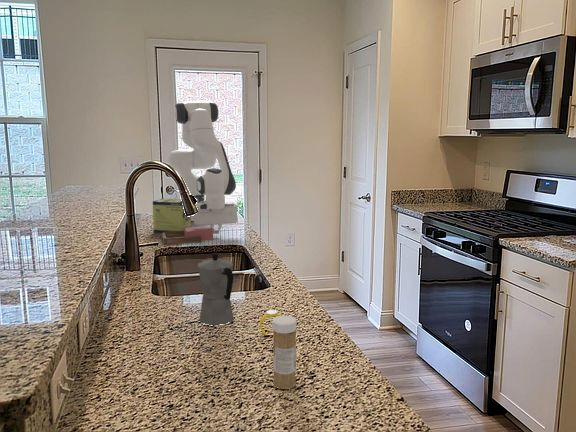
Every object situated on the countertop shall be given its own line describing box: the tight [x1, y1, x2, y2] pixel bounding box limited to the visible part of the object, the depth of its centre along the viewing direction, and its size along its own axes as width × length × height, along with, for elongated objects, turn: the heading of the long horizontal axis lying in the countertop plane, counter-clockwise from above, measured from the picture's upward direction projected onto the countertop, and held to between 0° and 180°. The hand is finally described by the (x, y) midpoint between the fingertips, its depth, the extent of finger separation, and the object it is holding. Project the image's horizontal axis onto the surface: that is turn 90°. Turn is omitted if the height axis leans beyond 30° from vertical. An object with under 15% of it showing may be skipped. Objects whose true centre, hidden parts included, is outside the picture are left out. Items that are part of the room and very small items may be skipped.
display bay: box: [161, 231, 203, 245], centre depth 216 cm, size 15×16×2 cm
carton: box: [183, 225, 214, 241], centre depth 218 cm, size 9×12×5 cm
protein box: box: [152, 198, 192, 234], centre depth 233 cm, size 10×16×16 cm
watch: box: [259, 309, 283, 335], centre depth 114 cm, size 6×3×6 cm, turn 101°
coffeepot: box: [197, 252, 235, 325], centre depth 121 cm, size 15×9×18 cm, turn 35°
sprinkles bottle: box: [271, 315, 298, 390], centre depth 90 cm, size 5×5×13 cm
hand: (216, 233), depth 220 cm, fingers closed
